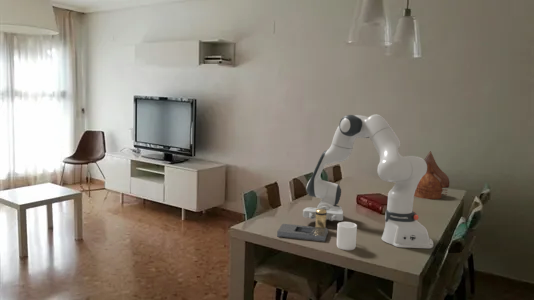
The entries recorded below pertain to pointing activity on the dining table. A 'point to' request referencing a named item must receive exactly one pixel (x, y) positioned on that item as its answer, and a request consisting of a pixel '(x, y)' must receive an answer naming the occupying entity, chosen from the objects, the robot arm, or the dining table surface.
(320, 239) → the grey recessed slab
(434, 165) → the decorative ornament
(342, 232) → the cup
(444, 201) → the dining table surface
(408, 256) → the dining table surface
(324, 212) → the gold cylinder
